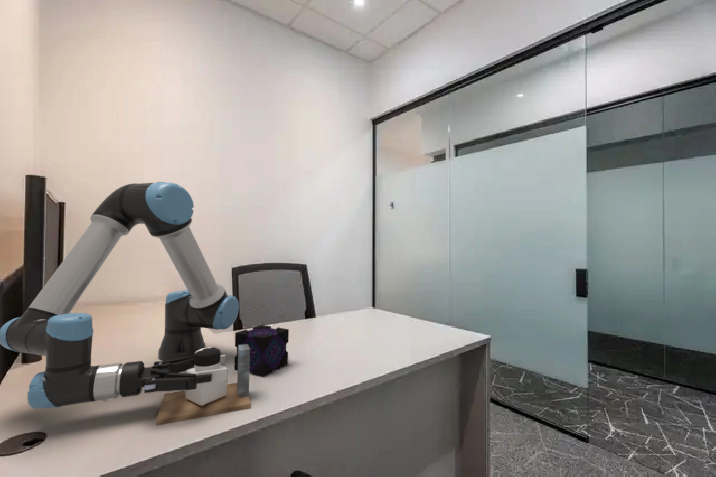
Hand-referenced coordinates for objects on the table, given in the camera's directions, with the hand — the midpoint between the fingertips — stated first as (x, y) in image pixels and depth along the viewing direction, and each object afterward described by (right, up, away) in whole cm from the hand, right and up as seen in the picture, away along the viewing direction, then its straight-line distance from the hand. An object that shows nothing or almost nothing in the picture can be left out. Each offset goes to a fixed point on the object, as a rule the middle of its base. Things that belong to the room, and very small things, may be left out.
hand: (225, 366), depth 84 cm
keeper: (-4, -8, -2) cm, 10 cm away
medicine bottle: (-4, -7, -2) cm, 8 cm away
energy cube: (+3, -9, +22) cm, 24 cm away
